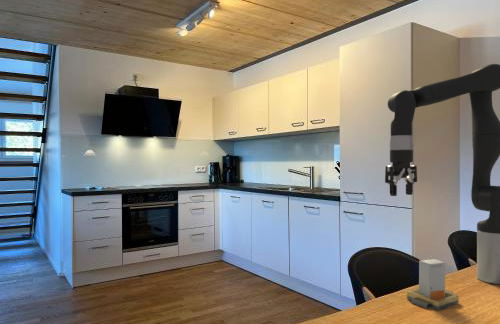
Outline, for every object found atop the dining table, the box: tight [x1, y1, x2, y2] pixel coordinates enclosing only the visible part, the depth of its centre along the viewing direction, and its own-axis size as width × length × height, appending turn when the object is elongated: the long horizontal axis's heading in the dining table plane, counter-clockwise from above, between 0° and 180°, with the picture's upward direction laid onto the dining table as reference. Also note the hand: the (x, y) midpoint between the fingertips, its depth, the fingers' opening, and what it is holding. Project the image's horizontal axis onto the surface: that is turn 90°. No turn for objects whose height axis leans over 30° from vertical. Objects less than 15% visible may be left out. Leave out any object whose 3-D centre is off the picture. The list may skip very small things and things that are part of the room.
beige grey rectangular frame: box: [406, 287, 460, 312], centre depth 109 cm, size 13×10×2 cm
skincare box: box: [418, 258, 446, 300], centre depth 109 cm, size 6×4×12 cm
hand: (401, 195), depth 127 cm, fingers open, 8 cm apart
